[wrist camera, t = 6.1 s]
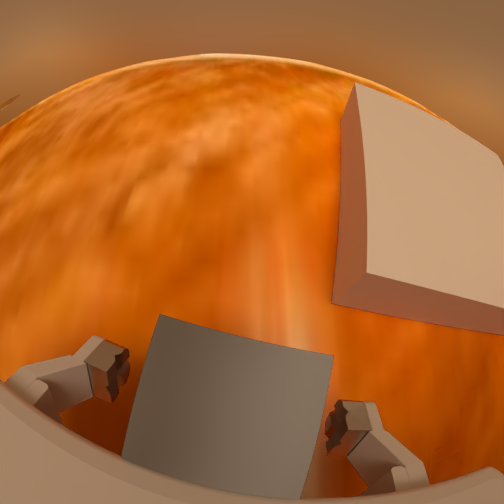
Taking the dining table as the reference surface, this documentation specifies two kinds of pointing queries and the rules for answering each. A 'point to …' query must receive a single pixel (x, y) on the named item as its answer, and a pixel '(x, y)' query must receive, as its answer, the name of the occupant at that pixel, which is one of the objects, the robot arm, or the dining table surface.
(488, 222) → the riser block
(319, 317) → the dining table surface
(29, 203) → the dining table surface
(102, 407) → the dining table surface
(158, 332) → the slate block
